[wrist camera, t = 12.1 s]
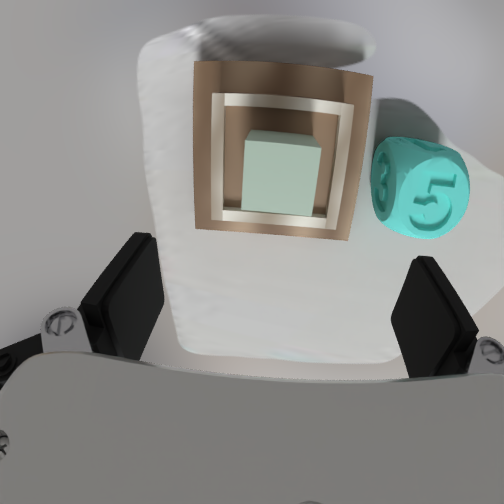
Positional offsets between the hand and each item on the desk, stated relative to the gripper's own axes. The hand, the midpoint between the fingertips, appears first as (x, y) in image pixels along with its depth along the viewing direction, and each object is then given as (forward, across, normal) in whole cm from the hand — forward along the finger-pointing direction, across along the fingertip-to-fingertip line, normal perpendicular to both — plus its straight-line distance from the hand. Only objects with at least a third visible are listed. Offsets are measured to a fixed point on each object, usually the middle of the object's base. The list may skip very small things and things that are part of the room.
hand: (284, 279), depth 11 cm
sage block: (+16, 0, 0) cm, 16 cm away
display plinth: (+22, 0, 0) cm, 22 cm away
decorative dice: (+23, -14, +1) cm, 26 cm away
